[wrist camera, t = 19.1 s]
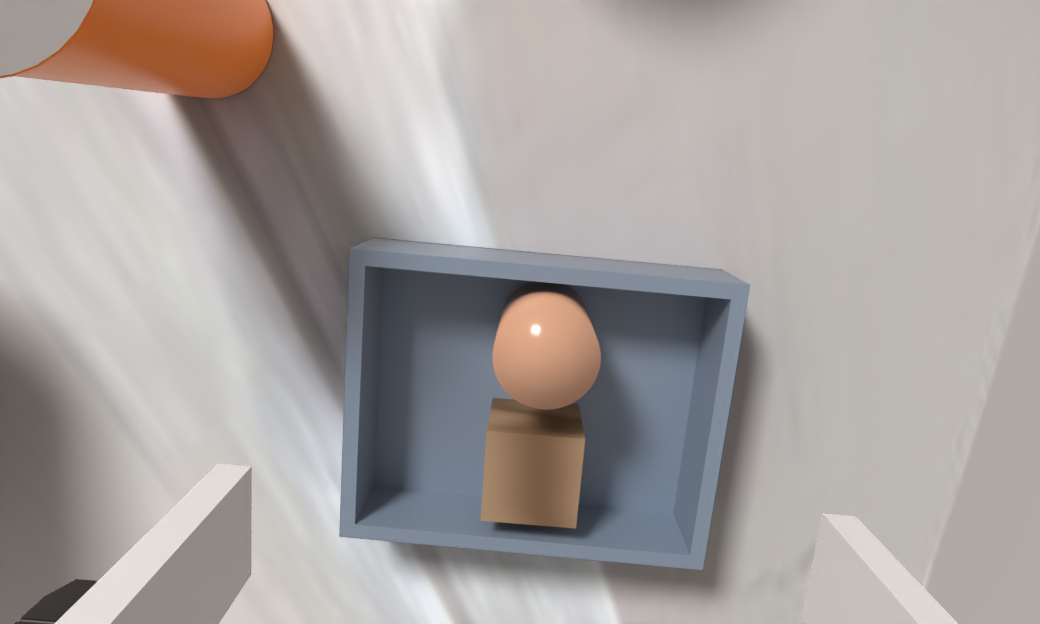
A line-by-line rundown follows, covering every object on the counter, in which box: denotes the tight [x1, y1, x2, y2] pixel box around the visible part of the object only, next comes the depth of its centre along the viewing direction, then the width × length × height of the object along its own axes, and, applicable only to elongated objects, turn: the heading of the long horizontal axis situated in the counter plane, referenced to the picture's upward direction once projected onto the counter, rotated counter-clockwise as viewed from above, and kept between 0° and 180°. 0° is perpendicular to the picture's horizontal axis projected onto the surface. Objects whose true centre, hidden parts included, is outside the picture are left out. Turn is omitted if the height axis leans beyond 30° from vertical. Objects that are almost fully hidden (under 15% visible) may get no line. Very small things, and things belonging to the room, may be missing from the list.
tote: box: [339, 238, 750, 570], centre depth 36 cm, size 20×16×5 cm
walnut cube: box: [480, 398, 585, 528], centre depth 37 cm, size 5×5×5 cm
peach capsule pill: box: [492, 281, 601, 410], centre depth 34 cm, size 5×5×7 cm
